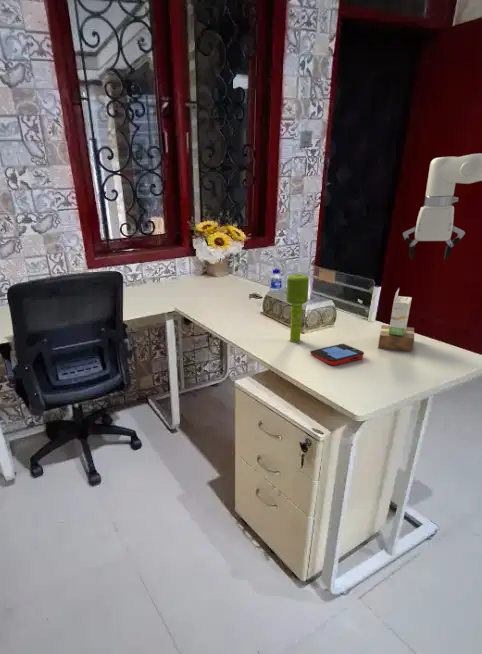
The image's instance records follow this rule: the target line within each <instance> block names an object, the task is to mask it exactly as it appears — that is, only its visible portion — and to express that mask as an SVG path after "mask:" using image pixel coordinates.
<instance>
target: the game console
mask: <svg viewBox="0 0 482 654" xmlns="http://www.w3.org/2000/svg"><path fill="white" fill-rule="evenodd" d="M309 353H310V354H311V355H312V356H314V357H315V358H317V359H319V360H321V361H322V362H324V363H326V364H327V365H329V366H338V365H342V364H343V365H344V364H346V363H350V362H355V361H358V360H361V359H363V358H364V354H365V351H363V350H360V349H358V348H356V347H353V346H351V345H348V344H345V343H338V344H334V345H331V346H325V347H322V348H318V349H313V350H310V351H309Z"/></svg>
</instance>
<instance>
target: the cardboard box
mask: <svg viewBox="0 0 482 654" xmlns="http://www.w3.org/2000/svg"><path fill="white" fill-rule="evenodd" d="M389 328H390V325H388V324H381V327H380V332H379V340H378V344H377V345H378V346H377V348H378V349H382V350H384V349H385V350H392V351H400V352H401V351H402V352H410V353H411V352H413V348H414V347H413V346H414V342H415V327H411V326H410V327H409V326H407V327H406V330H405V332H404V334H403V336H401V335H393V334H389Z"/></svg>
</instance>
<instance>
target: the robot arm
mask: <svg viewBox="0 0 482 654" xmlns="http://www.w3.org/2000/svg"><path fill="white" fill-rule="evenodd" d="M478 182H482V153H471V154H465V155H462V156H441V157H435V158H433V159H432V160H431V161H430V164H429V170H428V177H427V182H426V190H425V196H424V201H423V202H424V203H423V206H421V207H420V210H419V211H418V216H417V220H416V223H415V224H416V225H415V226H413V227H411V228H409V229H407V230H405V231H403V232H402V236H403V238H404V241H405V243H407V245H408V246H409V253H408V257H410V260H414V259H415V252H416V244H418V242H445V243H446V244H447V245H446V246H445V251H444V257H443V259H444V260H445V261H448V259H449V258H450V257H451V255H452V254H451V253H452V251H453V247H454V246H455V245H456V244H457V243H459V242H460V241H461V239H462V238H463V237H464V236H465V235H466V232H465V230H462V229H461V228H458V227H456V226H455V225H454V220H455V218H454V217H455V216H454V215H455V207H454V205H453V204H454V203H458V202H459V197H458V196H457V197H456V196H455V195H454V194H455V189H456V184H466V185H469V184H473V183H478ZM412 233H414V239H413V240H412V239H411V238H410V236H409V235H410V234H412ZM453 233H456V234H457V236H456V237H454V239H451V237H452V234H453Z"/></svg>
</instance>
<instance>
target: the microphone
mask: <svg viewBox="0 0 482 654" xmlns="http://www.w3.org/2000/svg"><path fill="white" fill-rule="evenodd" d="M286 279H287V280H286V302H287V303H288V304H291V306H290V314H291V315H290V319H289V320H290V323H289V325H290V334H289V335H290V336H289V337H290V339H289V341H290V342H292V343H298V342H300V341H301V331H302V330H301V329H302V328H301V327H302V322H303V321H302V317H303V316H302V314H303V305H304V304H306V303H307V302H308V299H309V284H310V282H309V281H310V276H308V275H306V274H291V275H289V276H287V278H286Z"/></svg>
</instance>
